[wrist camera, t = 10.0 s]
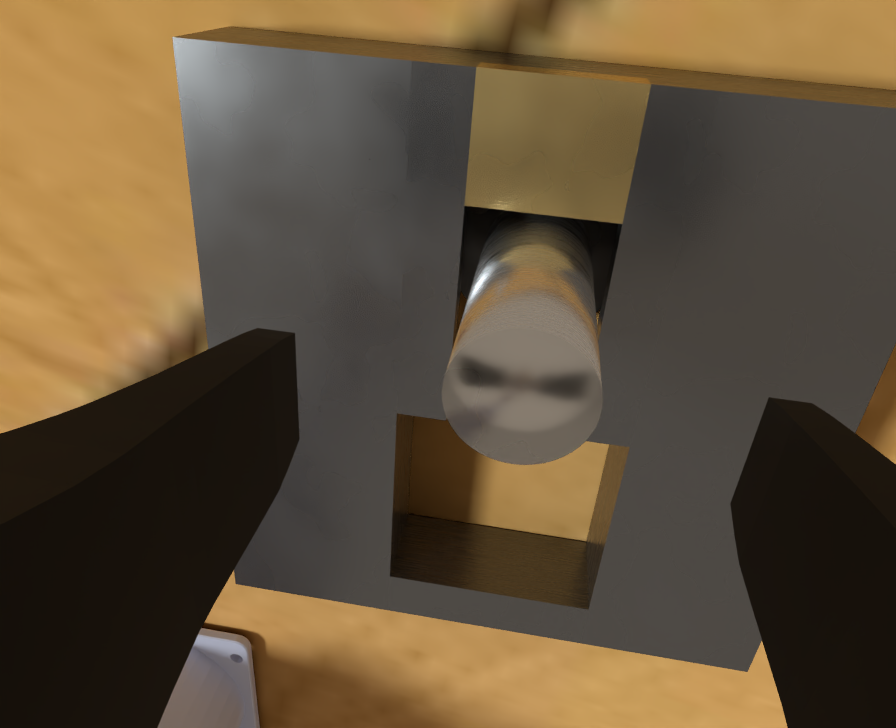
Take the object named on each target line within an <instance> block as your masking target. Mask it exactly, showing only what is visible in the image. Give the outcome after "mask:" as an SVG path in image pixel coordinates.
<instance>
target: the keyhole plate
mask: <svg viewBox="0 0 896 728" xmlns="http://www.w3.org/2000/svg"><path fill="white" fill-rule="evenodd" d="M172 38H173V46H174V55H175V63H176V72H177V81H178V89H179V98H180V107H181V115H182V124H183V133H184V141H185V150H186V158H187V167H188V176H189V184H190V193H191V202H192V210H193V219H194V227H195V236H196V245H197V253H198V262H199V271H200V279H201V288H202V296H203V305H204V314H205V322H206V331H207V340H208V348H209V349H210V348H212V347H214V346H216V345H219V344H221V343H223V342H225V341H227V340H229V339H231V338H233V337H236V336H238V335H240V334H243V333H245V332H248V331H250V330H253V329H256V328H262V329H270V330H277V331H284V332H292V333H295V343H296V367H297V390H298V414H299V437H300V439H299V442H298V445H297V447H296V450H295V453H294V455H293V458H292V460H291V463H290V466H289V468H288V471H287V473H286V475H285V478H284V480H283V483H282V485H281V487H280V490H279V492H278V494H277V495H276V497H275V499H274V501H273V503H272V504H271V506H270V508H269V510H268V511H267V513H266V515H265V517H264V519H263V520H262V522H261V524H260V526H259V527H258V529H257V531H256V533H255V534H254V536H253V538H252V539H251V541H250V543H249V545H248V546H247V548H246V550H245V551H244V553H243V555H242V557H241V558H240V560H239V562H238V563H237V565H236V567H235V569H234V573H235V581H236V584H239V585H245V586H251V587H257V588H262V589H268V590H274V591H280V592H286V593H291V594H297V595H303V596H309V597H315V598H321V599H326V600H332V601H338V602H344V603H350V604H355V605H361V606H367V607H373V608H379V609H385V610H390V611H396V612H402V613H408V614H414V615H419V616H425V617H431V618H437V619H443V620H449V621H454V622H460V623H466V624H472V625H478V626H483V627H489V628H495V629H501V630H507V631H513V632H518V633H524V634H530V635H536V636H542V637H547V638H553V639H559V640H565V641H571V642H577V643H582V644H588V645H594V646H600V647H606V648H611V649H617V650H623V651H629V652H635V653H641V654H646V655H652V656H658V657H664V658H670V659H675V660H681V661H687V662H693V663H699V664H705V665H710V666H716V667H722V668H728V669H734V670H739V671H745V672H748V669H749V667H750V665H751V663H752V661H753V658H754V656H755V654H756V652H757V649H758V647H759V645H760V643H761V641H762V638H761V635H760V632H759V629H758V625H757V622H756V619H755V616H754V613H753V609H752V606H751V603H750V599H749V596H748V592H747V589H746V586H745V582H744V579H743V576H742V572H741V568H740V565H739V560H738V554H737V548H736V542H735V536H734V529H733V521H732V513H731V506H730V503H731V500H732V497H733V495H734V492H735V489H736V486H737V484H738V481H739V478H740V475H741V473H742V470H743V467H744V464H745V462H746V459H747V456H748V453H749V450H750V448H751V445H752V442H753V439H754V437H755V434H756V431H757V428H758V426H759V423H760V420H761V417H762V414H763V412H764V409H765V406H766V403H767V401H768V398H769V397H771V398H778V399H786V400H793V401H800V402H808V403H813V404H814V405H816V406H817V407H819V408H821V409H822V410H824V411H825V412H827V413H828V414H830V415H831V416H833V417H834V418H835V419H837V420H838V421H839V422H841V423H842V424H843V425H845V426H846V427H847V428H849V429H850V430H851V431H853V432H854V433H855V432H856V430H857V428H858V426H859V424H860V421H861V419H862V417H863V415H864V413H865V410H866V408H867V406H868V404H869V401H870V399H871V397H872V395H873V393H874V390H875V388H876V386H877V384H878V382H879V379H880V377H881V375H882V373H883V370H884V368H885V366H886V364H887V362H888V359H889V357H890V355H891V353H892V351H893V348H894V346H895V344H896V91H894V90H884V89H873V88H863V87H852V86H842V85H832V84H821V83H811V82H800V81H790V80H780V79H769V78H759V77H748V76H738V75H728V74H717V73H707V72H696V71H686V70H676V69H665V68H655V67H644V66H634V65H623V64H613V63H603V62H592V61H582V60H571V59H561V58H551V57H540V56H530V55H519V54H509V53H499V52H488V51H478V50H467V49H457V48H447V47H436V46H426V45H415V44H405V43H395V42H384V41H374V40H363V39H353V38H343V37H332V36H322V35H311V34H301V33H290V32H280V31H270V30H259V29H249V28H238V27H224V28H219V29H214V30H208V31H203V32H198V33H192V34H187V35H182V36H176V37H172ZM468 206H472V207H481V208H490V209H498V210H507V211H515V212H524V213H532V214H541V215H550V216H558V217H567V218H575V219H584V220H592V221H601V222H610V223H618V225H617V230H616V235H615V240H614V245H613V250H612V255H611V260H610V265H609V270H608V275H607V279H606V284H605V289H604V294H603V299H602V304H601V309H600V314H599V319H598V324H597V333H598V345H599V358H600V370H601V382H602V395H603V404H602V411H601V415H600V419H599V421H598V423H597V426H596V428H595V429H594V431H593V432H592V434H591V435H590V436H589V438H588V439H587V440H586V441H590V442H597V443H604V444H609V448H608V452H607V457H606V461H605V465H604V469H603V474H602V478H601V482H600V487H599V491H598V495H597V499H596V504H595V508H594V512H593V516H592V521H591V525H590V529H589V533H588V538H587V542H581V541H575V540H568V539H562V538H556V537H549V536H543V535H537V534H531V533H524V532H518V531H512V530H505V529H499V528H493V527H486V526H480V525H474V524H467V523H461V522H455V521H449V520H442V519H436V518H430V517H423V516H417V515H411V514H408V504H409V487H410V469H411V452H412V434H413V417H414V416H418V417H425V418H432V419H439V420H446V419H447V417H446V414H445V411H444V408H443V403H442V385H443V380H444V377H445V373H446V370H447V366H448V363H449V360H450V356H451V353H452V350H453V346H454V343H455V340H456V336H457V324H458V313H459V302H460V291H461V279H462V268H463V257H464V245H465V234H466V223H467V212H468Z"/></svg>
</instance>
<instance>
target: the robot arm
mask: <svg viewBox="0 0 896 728" xmlns="http://www.w3.org/2000/svg"><path fill="white" fill-rule="evenodd" d="M299 439H300V437H299V414H298V390H297V367H296V343H295V333H292V332H284V331H277V330H270V329H262V328H256V329H253V330H250V331H248V332H245V333H243V334H240V335H238V336H236V337H233V338H231V339H229V340H227V341H225V342H223V343H221V344H219V345H216V346H214V347H212V348H210V349H208V350H206V351H204V352H202V353H200V354H198V355H196V356H194V357H192V358H189V359H187V360H185V361H183V362H181V363H179V364H177V365H175V366H173V367H171V368H168V369H166V370H164V371H162V372H160V373H158V374H156V375H154V376H151V377H149V378H147V379H144V380H142V381H140V382H137V383H135V384H133V385H130V386H128V387H126V388H123V389H121V390H119V391H116V392H114V393H112V394H110V395H107V396H105V397H103V398H100V399H98V400H96V401H93V402H91V403H88V404H86V405H83V406H80V407H78V408H75V409H72V410H70V411H67V412H64V413H62V414H59V415H56V416H53V417H50V418H47V419H44V420H41V421H38V422H35V423H32V424H29V425H26V426H23V427H20V428H17V429H14V430H11V431H8V432H4V433H1V434H0V728H260V724H259V715H258V706H257V696H256V687H255V678H254V668H253V659H252V650H251V644H250V641H249V640H248V639H247V638H246V637H244V636H242V635H238V634H233V633H227V632H222V631H216V630H210V629H205V628H202V626H203V624H204V622H205V620H206V618H207V616H208V614H209V612H210V611H211V609H212V607H213V605H214V603H215V601H216V600H217V598H218V596H219V594H220V593H221V591H222V589H223V588H224V586H225V584H226V582H227V581H228V579H229V577H230V576H231V574H232V572H233V570H234V569H235V567H236V565H237V563H238V562H239V560H240V558H241V557H242V555H243V553H244V551H245V550H246V548H247V546H248V545H249V543H250V541H251V539H252V538H253V536H254V534H255V533H256V531H257V529H258V527H259V526H260V524H261V522H262V520H263V519H264V517H265V515H266V513H267V511H268V510H269V508H270V506H271V504H272V503H273V501H274V499H275V497H276V495H277V494H278V492H279V490H280V487H281V485H282V483H283V480H284V478H285V475H286V473H287V471H288V468H289V466H290V463H291V460H292V458H293V455H294V453H295V450H296V447H297V445H298V442H299ZM730 506H731V513H732V521H733V529H734V536H735V542H736V548H737V554H738V560H739V565H740V568H741V572H742V576H743V579H744V582H745V586H746V589H747V592H748V596H749V599H750V603H751V606H752V609H753V613H754V616H755V619H756V622H757V625H758V629H759V632H760V635H761V638H762V642H763V645H764V648H765V651H766V655H767V658H768V661H769V664H770V668H771V671H772V674H773V677H774V681H775V684H776V687H777V690H778V694H779V697H780V700H781V703H782V707H783V711H784V715H785V719H786V722H787V726H788V728H896V465H895V464H894V463H893V462H892V461H890V460H889V459H888V458H886V457H885V456H884V455H883V454H881V453H880V452H879V451H877V450H876V449H875V448H873V447H872V446H871V445H870V444H868V443H867V442H866V441H864V440H863V439H862V438H861V437H859V436H858V435H857V434H855V433H854V432H853V431H851V430H850V429H849V428H847V427H846V426H845V425H843V424H842V423H841V422H839V421H838V420H837V419H835V418H834V417H833V416H831V415H830V414H828V413H827V412H825V411H824V410H822V409H821V408H819V407H817V406H816V405H814V404H813V403H808V402H800V401H793V400H786V399H778V398H771V397H769V398H768V401H767V403H766V406H765V409H764V412H763V414H762V417H761V420H760V423H759V426H758V428H757V431H756V434H755V437H754V439H753V442H752V445H751V448H750V450H749V453H748V456H747V459H746V462H745V464H744V467H743V470H742V473H741V475H740V478H739V481H738V484H737V486H736V489H735V492H734V495H733V497H732V500H731V503H730Z"/></svg>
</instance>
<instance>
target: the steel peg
mask: <svg viewBox="0 0 896 728" xmlns="http://www.w3.org/2000/svg"><path fill="white" fill-rule="evenodd" d="M617 225H618V223H610V222H601V221H592V220H584V219H575V218H567V217H558V216H550V215H541V214H532V213H524V212H515V211H507V210H498V209H490V208H481V207H472V206H468V212H467V223H466V234H465V245H464V257H463V268H462V279H461V292H462V293H463V295H464V296H465V297H466V299H467V303H466V306H465V310H464V313H463V316H462V320H461V323H460V326H459V330H458V333H457V336H456V340H455V343H454V346H453V350H452V353H451V356H450V360H449V363H448V366H447V370H446V373H445V377H444V380H443V385H442V403H443V408H444V411H445V414H446V417H447V419H448V421H449V423H450V425H451V427H452V428H453V430H454V431H455V432H456V434H457V435H458V436H459V437H460V438H461V439H462V440H463V441H464V442H465V443H466V444H467V445H469V446H470V447H471V448H473V449H474V450H476V451H477V452H479V453H481V454H483V455H485V456H487V457H489V458H492V459H494V460H498V461H501V462H505V463H511V464H520V465H532V464H540V463H546V462H550V461H554V460H556V459H559V458H561V457H564V456H566V455H567V454H569V453H571V452H573V451H574V450H575V449H577V448H578V447H580V446H581V445H582V444H583V443H584V442H585V441H586V440H587V439H588V438H589V436H590V435H591V434H592V432H593V431H594V429H595V428H596V426H597V423H598V421H599V419H600V415H601V411H602V404H603V395H602V382H601V370H600V358H599V345H598V333H597V320H596V312H597V311H598V310H599V309H601V304H602V299H603V294H604V289H605V284H606V279H607V275H608V270H609V265H610V260H611V255H612V250H613V245H614V240H615V235H616V230H617Z"/></svg>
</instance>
